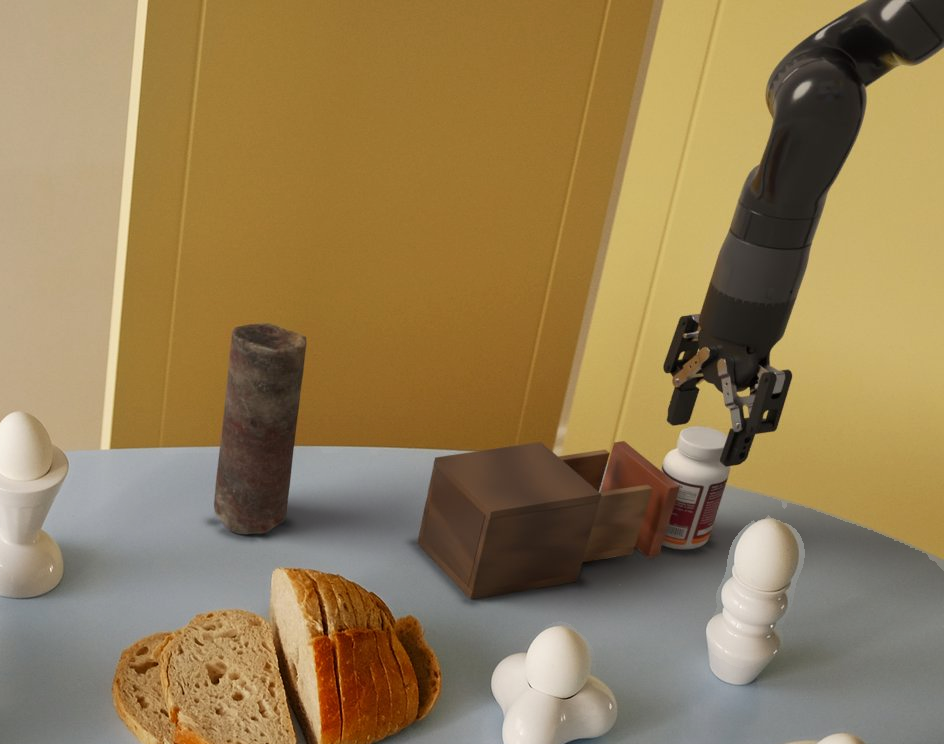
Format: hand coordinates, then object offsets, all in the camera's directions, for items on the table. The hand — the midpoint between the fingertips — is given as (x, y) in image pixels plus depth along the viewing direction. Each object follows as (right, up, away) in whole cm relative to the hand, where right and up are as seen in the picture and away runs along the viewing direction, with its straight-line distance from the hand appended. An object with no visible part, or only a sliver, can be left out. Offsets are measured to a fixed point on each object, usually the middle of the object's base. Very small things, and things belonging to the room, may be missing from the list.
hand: (703, 443), depth 170 cm
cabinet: (-19, -11, +3) cm, 22 cm away
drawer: (-9, -9, +4) cm, 13 cm away
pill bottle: (0, -8, +7) cm, 11 cm away
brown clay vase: (-43, -6, +9) cm, 44 cm away
